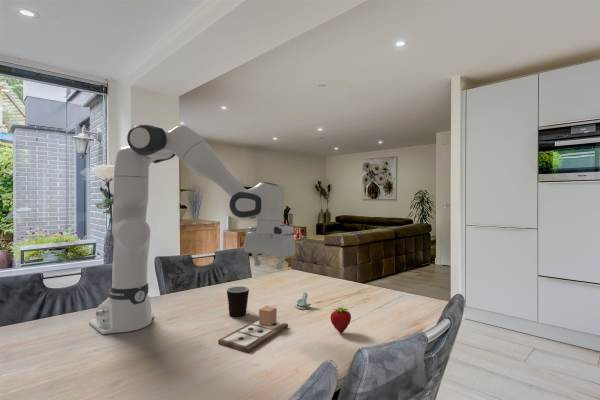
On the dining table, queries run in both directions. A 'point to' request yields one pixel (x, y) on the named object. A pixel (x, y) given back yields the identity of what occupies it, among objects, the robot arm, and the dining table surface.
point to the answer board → (252, 335)
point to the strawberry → (340, 319)
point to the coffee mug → (237, 301)
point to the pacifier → (302, 302)
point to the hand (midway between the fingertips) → (268, 267)
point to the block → (267, 315)
